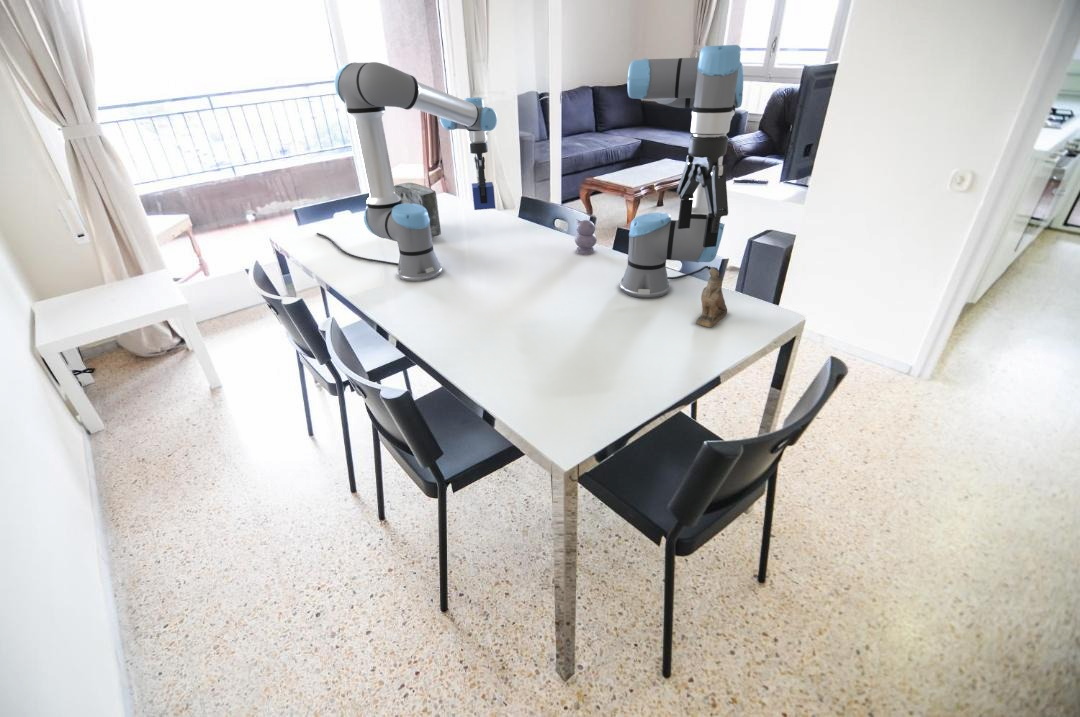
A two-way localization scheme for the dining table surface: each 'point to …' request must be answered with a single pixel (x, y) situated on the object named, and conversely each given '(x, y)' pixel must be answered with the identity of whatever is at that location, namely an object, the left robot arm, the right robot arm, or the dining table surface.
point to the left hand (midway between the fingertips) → (483, 200)
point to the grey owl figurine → (585, 237)
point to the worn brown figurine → (712, 301)
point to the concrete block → (421, 202)
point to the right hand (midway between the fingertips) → (695, 237)
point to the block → (490, 196)
